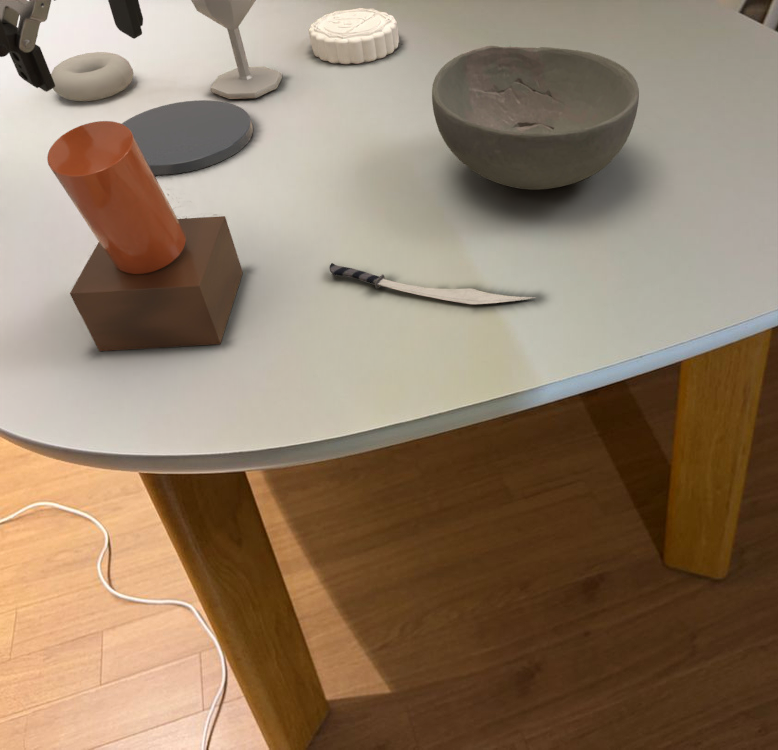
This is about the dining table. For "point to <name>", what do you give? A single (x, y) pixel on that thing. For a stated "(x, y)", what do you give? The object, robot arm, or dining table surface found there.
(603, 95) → the bowl
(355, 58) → the mooncake
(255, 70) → the wineglass
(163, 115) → the plate
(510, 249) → the dining table surface
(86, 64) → the donut
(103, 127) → the orange cylinder
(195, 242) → the stand
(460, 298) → the knife
